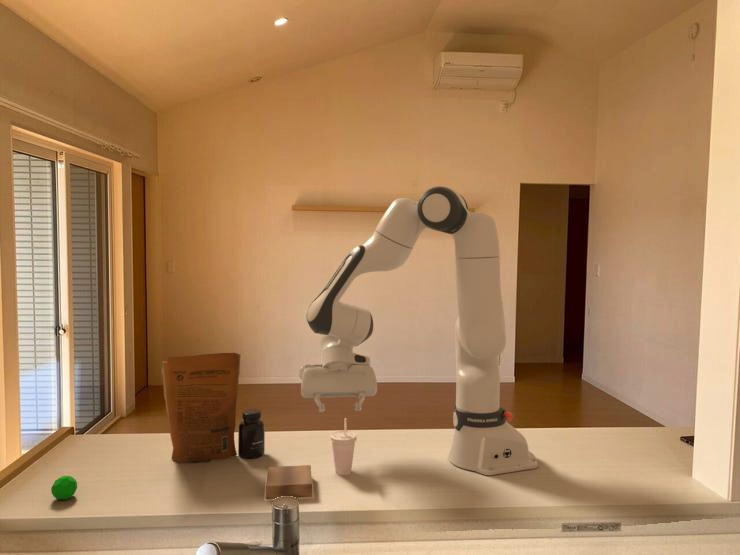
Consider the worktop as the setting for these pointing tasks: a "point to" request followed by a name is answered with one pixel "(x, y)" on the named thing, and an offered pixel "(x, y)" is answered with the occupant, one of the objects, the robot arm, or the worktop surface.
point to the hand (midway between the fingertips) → (340, 410)
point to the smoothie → (343, 450)
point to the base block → (289, 481)
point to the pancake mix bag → (202, 405)
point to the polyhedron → (64, 487)
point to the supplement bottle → (251, 435)
